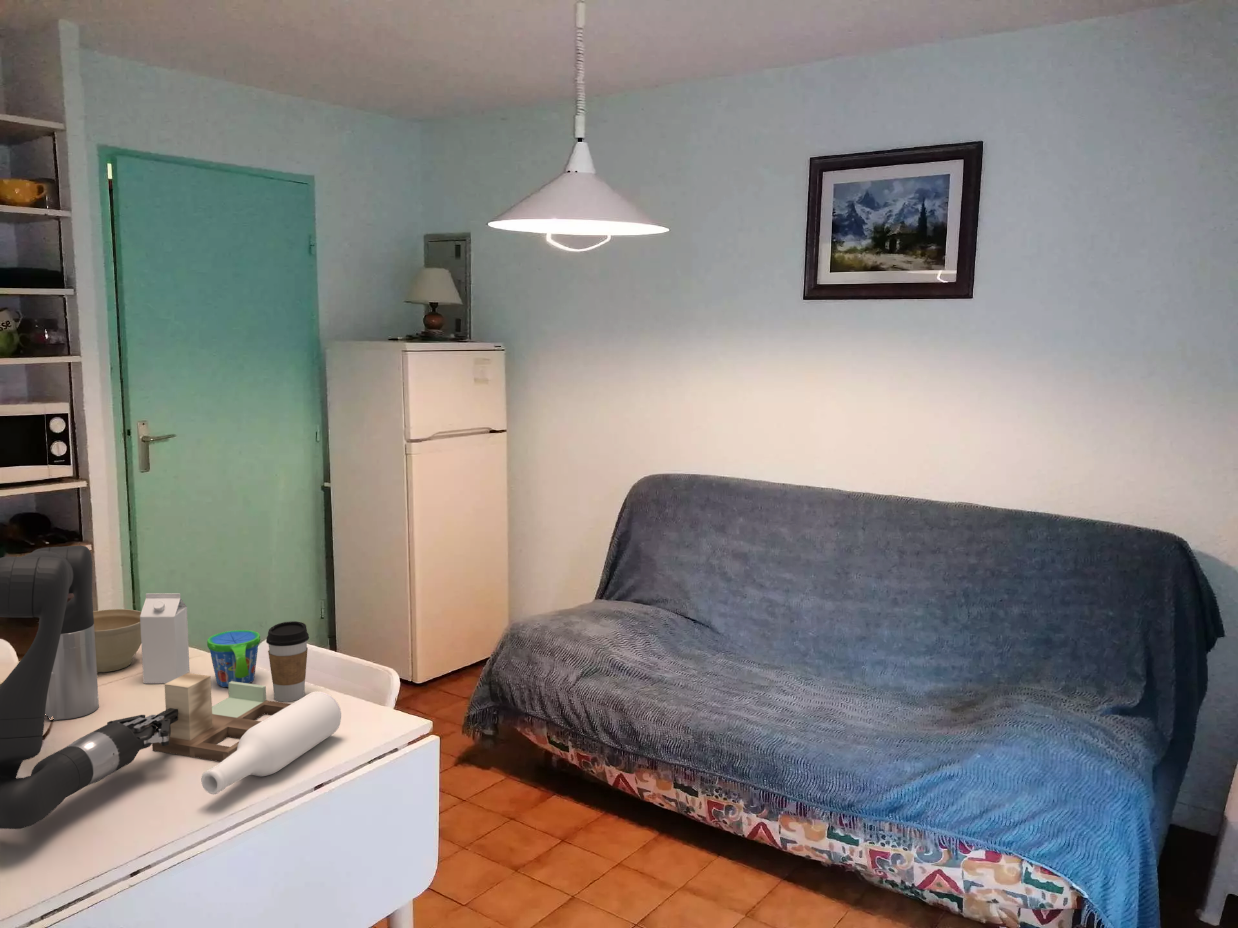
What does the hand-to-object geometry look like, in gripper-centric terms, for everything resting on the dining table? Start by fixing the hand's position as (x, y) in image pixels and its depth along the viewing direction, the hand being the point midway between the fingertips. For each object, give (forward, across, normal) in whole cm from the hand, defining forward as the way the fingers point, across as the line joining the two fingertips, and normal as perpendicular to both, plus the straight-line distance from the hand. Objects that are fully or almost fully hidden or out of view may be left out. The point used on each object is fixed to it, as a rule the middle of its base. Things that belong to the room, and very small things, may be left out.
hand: (174, 713), depth 169 cm
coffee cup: (+28, -4, +7) cm, 29 cm away
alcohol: (+14, -21, +3) cm, 26 cm away
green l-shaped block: (+16, 0, +7) cm, 17 cm away
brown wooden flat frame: (+10, -4, +7) cm, 12 cm away
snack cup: (+31, +11, +7) cm, 34 cm away
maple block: (+4, 0, +5) cm, 6 cm away
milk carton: (+28, +27, +7) cm, 40 cm away
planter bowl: (+30, +44, +7) cm, 54 cm away
